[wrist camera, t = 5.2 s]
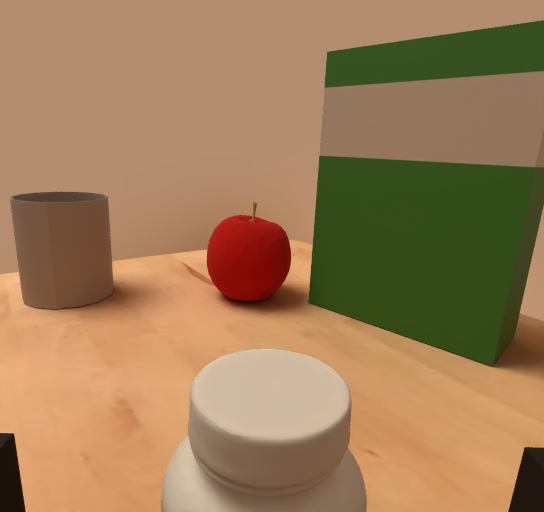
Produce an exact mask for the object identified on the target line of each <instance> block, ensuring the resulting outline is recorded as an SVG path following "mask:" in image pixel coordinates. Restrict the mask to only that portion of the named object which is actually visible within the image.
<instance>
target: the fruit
mask: <svg viewBox="0 0 544 512" xmlns="http://www.w3.org/2000/svg"><path fill="white" fill-rule="evenodd" d="M253 203H254V204H253V206H254V209H253V216H246V215H238V216H233V217H229V218H227V219H225V220H223V221H222V222H221V223H220V224H219V225H218V226H217V227H216V228H215V229H214V232H213V234H212V236H211V238H210V241H209V245H208V251H207V267H208V272H209V275H210V277H211V279H212V282H213V283H214V285H215V286H216V287H217V288H218V289H219V290H220V291H221V292H222V293H223V294H225V295H226V296H228V297H229V298H231V299H234V300H239V301H258V300H263V299H266V298H268V297H269V296H271V295H272V294H273V293H274V292H275V291H276V290H277V289H278V288H279V287H280V286H281V285H282V283H283V282H284V281H285V279H286V277H287V275H288V272H289V269H290V264H291V249H290V244H289V240H288V237H287V234H286V232H285V231H284V230H283V229H282V227H281V226H279V225H278V224H276V223H273V222H269V221H266V220H263V219H260V218H258V217H255V211H256V205H257V204H256V203H255V202H253Z"/></svg>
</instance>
